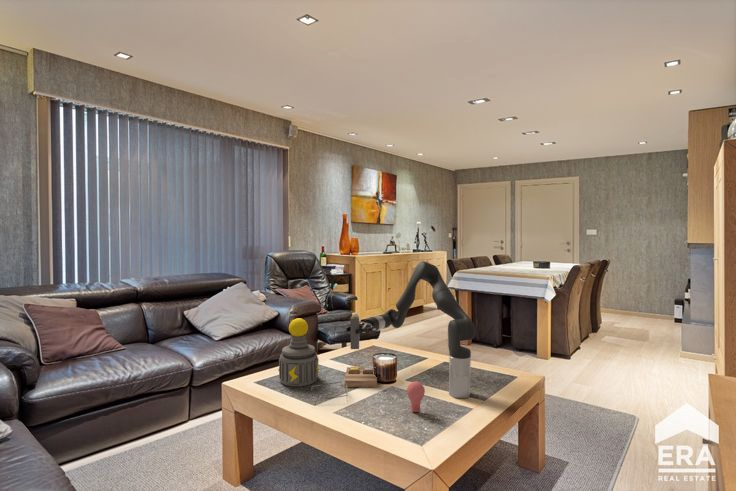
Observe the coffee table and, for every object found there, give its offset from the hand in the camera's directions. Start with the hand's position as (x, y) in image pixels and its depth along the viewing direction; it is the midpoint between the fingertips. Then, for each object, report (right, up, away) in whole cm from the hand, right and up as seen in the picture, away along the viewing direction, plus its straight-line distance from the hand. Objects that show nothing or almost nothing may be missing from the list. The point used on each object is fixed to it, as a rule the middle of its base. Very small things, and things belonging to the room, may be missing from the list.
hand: (351, 330), depth 206 cm
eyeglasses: (-9, -26, -18) cm, 32 cm away
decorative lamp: (-25, -24, +1) cm, 35 cm away
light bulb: (+27, -26, -33) cm, 50 cm away
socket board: (+5, -24, +1) cm, 24 cm away
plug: (+2, -9, +2) cm, 9 cm away
